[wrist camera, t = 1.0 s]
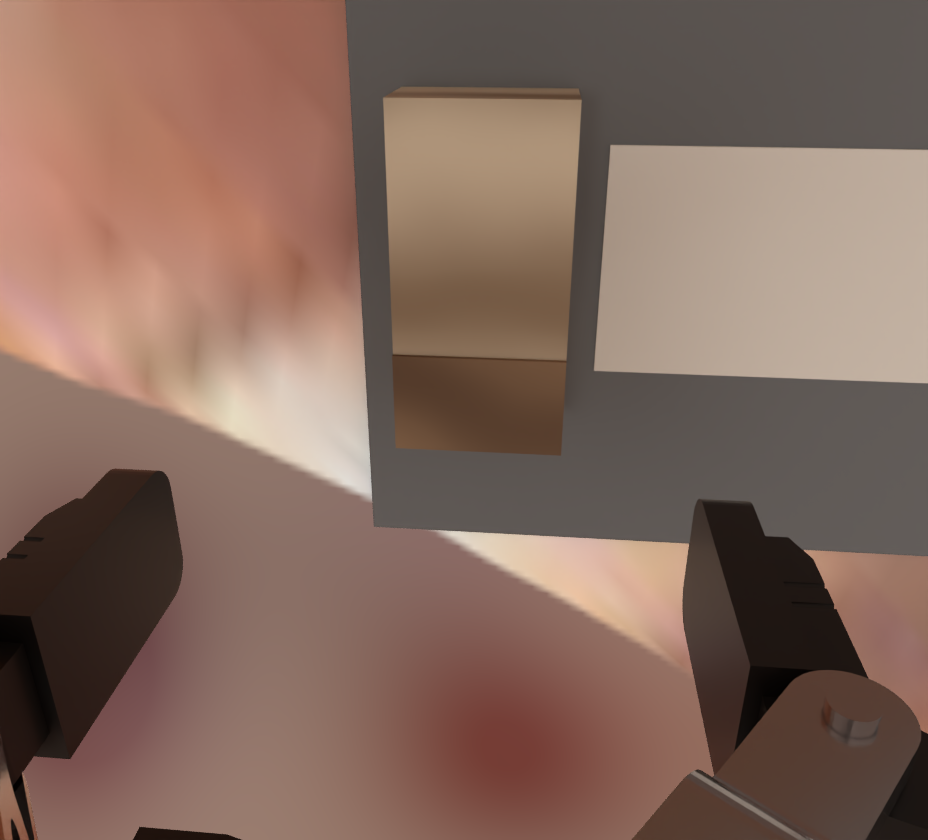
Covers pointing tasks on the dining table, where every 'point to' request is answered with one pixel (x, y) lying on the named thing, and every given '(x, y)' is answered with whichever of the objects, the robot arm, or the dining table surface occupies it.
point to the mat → (691, 265)
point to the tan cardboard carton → (480, 264)
